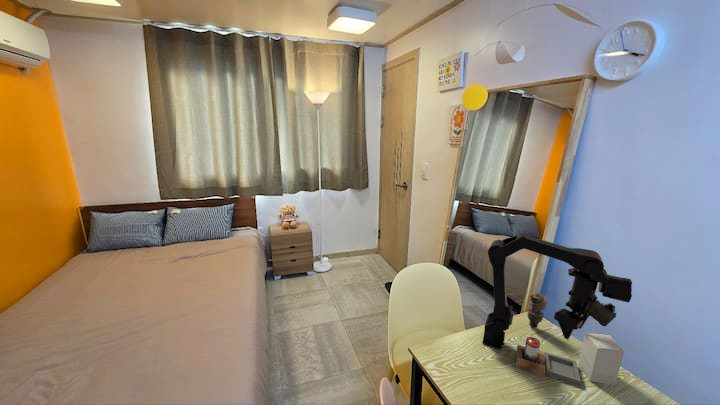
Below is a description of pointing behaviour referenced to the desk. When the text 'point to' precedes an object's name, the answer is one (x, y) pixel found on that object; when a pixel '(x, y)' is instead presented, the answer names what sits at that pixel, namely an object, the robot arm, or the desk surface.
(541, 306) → the light bulb
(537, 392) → the desk surface
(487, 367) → the desk surface
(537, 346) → the grey and red cylinder
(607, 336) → the supplement box
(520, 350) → the socket block
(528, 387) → the desk surface
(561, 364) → the tray
